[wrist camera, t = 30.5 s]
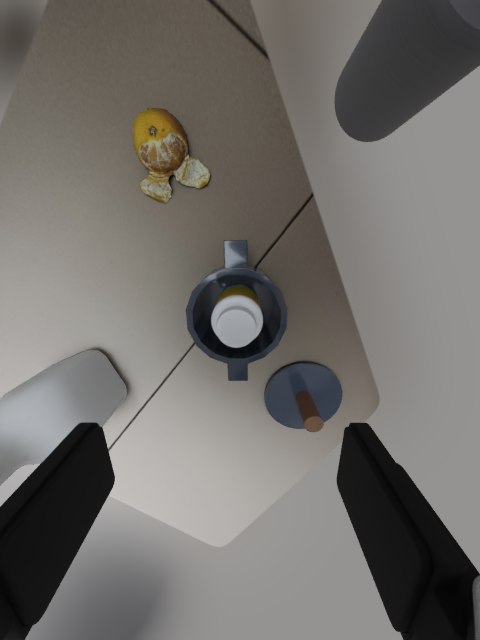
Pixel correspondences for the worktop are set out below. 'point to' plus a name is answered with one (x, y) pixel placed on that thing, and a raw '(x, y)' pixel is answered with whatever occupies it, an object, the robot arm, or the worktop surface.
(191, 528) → the worktop surface
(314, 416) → the lid
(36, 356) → the worktop surface
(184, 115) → the worktop surface
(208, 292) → the pot
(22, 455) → the soap bottle
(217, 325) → the supplement bottle
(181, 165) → the fruit
